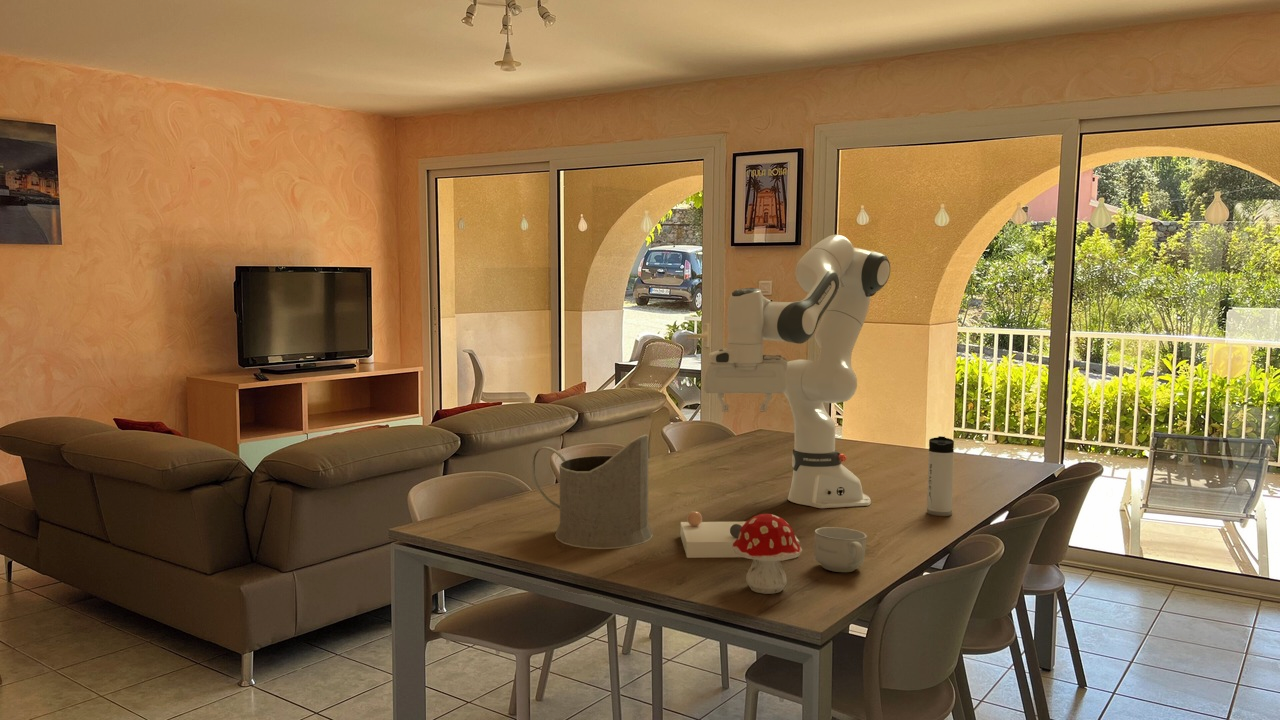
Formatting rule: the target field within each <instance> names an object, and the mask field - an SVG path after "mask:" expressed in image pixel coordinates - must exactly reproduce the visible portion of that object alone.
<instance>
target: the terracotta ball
mask: <svg viewBox="0 0 1280 720" xmlns="http://www.w3.org/2000/svg"><path fill="white" fill-rule="evenodd" d="M686 518H687V519H686V520H687V521H686V522H688V523H689V524H690V525H692V526H698V525H699V524H700V523H701V522H703V516H702V514H701V513H700V512H699V511H696V510H692V511H690V512H689V513H688V515H687V517H686Z"/></svg>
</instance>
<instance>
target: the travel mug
mask: <svg viewBox="0 0 1280 720" xmlns="http://www.w3.org/2000/svg"><path fill="white" fill-rule="evenodd" d="M928 443H929V444H928V447H929V448H928V458H927V459H928V460H927V461H928V463H927V465H928V466H927V497H926V506H927V507H926V513H927V514H928V515H931V516H935V517H949V516H951V515H952V514H953V494H954V493H953V491H954V488H953V487H954V485H953V484H954V460H955V459H954V458H955V457H954V453H955V450H954V448H955V441H954V439H951V438H949V437H946V436H939V435H938V436H937V437H931V438H929V440H928Z"/></svg>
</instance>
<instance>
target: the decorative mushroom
mask: <svg viewBox="0 0 1280 720" xmlns="http://www.w3.org/2000/svg"><path fill="white" fill-rule="evenodd" d="M745 522H746V523H745V524H744V525H743V526H742V527H741V530H740V533H739V536H738V538H737V539H736V541H735V542H734V543H733V545H732V548H733V550H734V552H735V554H737V555H740V556H742V557H741V558H745V559H749V560H752V563H751V566H750V568H749V569H748V571H747V574H746V577H745V580H746V583H747V585H748V587H749V588H750V589H751V591H753V592H755V593H757V594H763V595H764V594H765V595H767V594H770V595H775V594H777V593H780V592H782V591H783V590H784V589H785V587H786V585H787V583H788V578H787V575H786V573H785V570H784V569H783V566H782V563H781V561H787V560H791V559H796V558H798V557H797V556H798V555H799V556H800V555H801V554H802V552H803V548H802V547H801V545H800V543H799V544H798V543H797V541H796V538H795V536H796V535H795V531H794V530H793V528H792V527H791V526H790V524H789V523H788V522H787V521H786V520H785V519H784V518H782V517H780V516H777V515H775V514H772V513H762V514H761V513H760V514H757V515H754V516H753V517H751V518H750V519H749V520H747V521H745Z"/></svg>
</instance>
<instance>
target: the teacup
mask: <svg viewBox="0 0 1280 720" xmlns="http://www.w3.org/2000/svg"><path fill="white" fill-rule="evenodd" d="M867 538H868V537H867V534H866V533H865V532H862V531H860V530H857V529H851V528H847V527H839V526H838V527H835V526H824V527H819V528H816V529H815V530H814V545H813V546H814V549H813V551H814V556H815V560H816V562H817V563H818V564H820V565H821V567H822V568H824V569H825V570H826V571H827V570H828V571H832V572H834V573H835V572H836V573H851V572H854V571H855V570H856V569H858V568H859V567H861V566H862V564H863V563H864V561H865V555H866V542H867Z"/></svg>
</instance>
